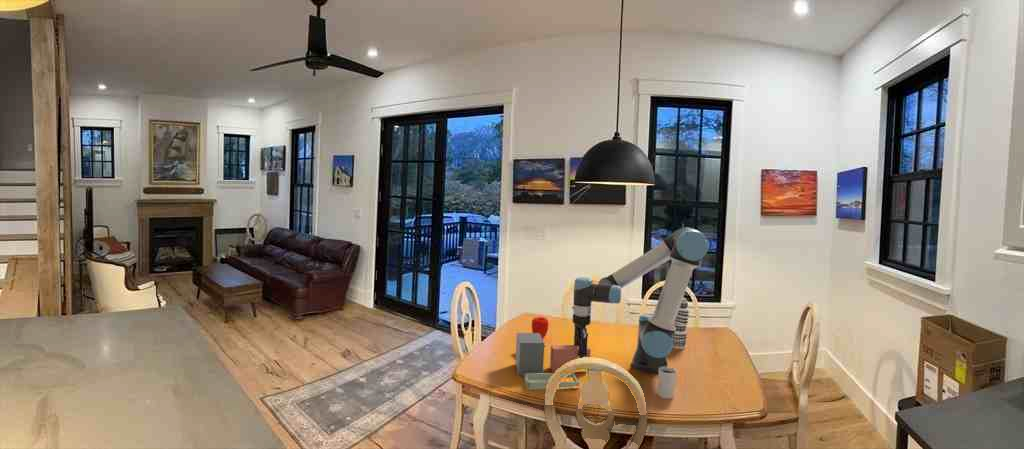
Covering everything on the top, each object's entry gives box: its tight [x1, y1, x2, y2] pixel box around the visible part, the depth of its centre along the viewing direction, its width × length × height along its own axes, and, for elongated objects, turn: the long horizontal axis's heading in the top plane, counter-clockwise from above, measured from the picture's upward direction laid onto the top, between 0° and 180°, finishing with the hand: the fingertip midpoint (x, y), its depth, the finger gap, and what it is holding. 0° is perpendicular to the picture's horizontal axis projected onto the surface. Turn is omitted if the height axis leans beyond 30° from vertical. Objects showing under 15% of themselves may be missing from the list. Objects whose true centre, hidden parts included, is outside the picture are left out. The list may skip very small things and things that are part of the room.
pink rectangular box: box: [549, 344, 591, 373], centre depth 197 cm, size 16×5×10 cm, turn 96°
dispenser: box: [515, 332, 546, 377], centre depth 195 cm, size 11×12×14 cm
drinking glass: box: [657, 366, 677, 400], centre depth 177 cm, size 7×7×10 cm
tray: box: [523, 372, 580, 390], centre depth 182 cm, size 20×9×3 cm, turn 96°
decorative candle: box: [672, 296, 690, 350], centre depth 233 cm, size 9×9×25 cm
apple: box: [531, 316, 550, 339], centre depth 236 cm, size 9×9×11 cm
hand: (579, 367), depth 198 cm, fingers closed on pink rectangular box, 5 cm apart
